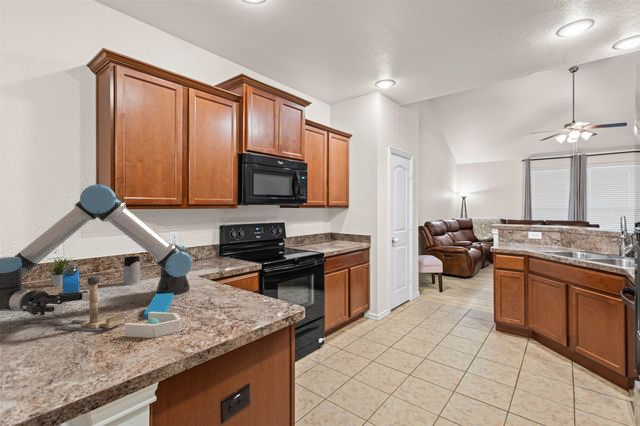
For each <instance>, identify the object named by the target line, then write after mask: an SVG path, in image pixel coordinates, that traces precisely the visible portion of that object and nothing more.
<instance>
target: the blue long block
mask: <svg viewBox="0 0 640 426" xmlns="http://www.w3.org/2000/svg"><path fill="white" fill-rule="evenodd" d="M173 300H174V295H173V293H166V294H157V293H155V295H153V298H152V300H151V301H150V303H149V305H148V306H147V308H146V310H145V311H144V313H143V319H145V320H146V319H147V320H148V313H149V312H168V311H169V308H170V306H171V305H172V302H173Z"/></svg>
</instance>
